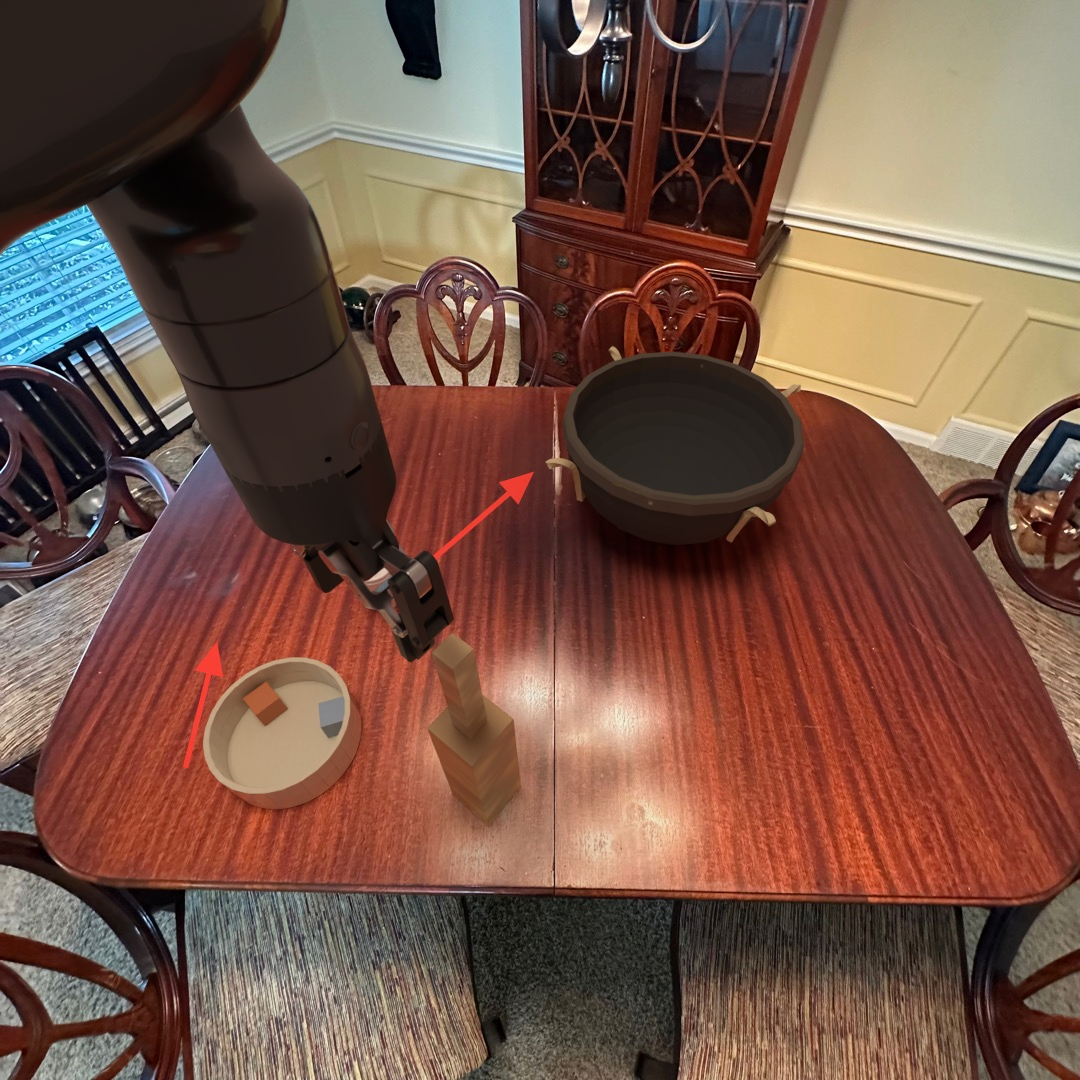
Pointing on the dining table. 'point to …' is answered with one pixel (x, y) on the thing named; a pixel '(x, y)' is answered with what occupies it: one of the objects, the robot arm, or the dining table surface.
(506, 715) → the oak stand
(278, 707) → the terracotta block
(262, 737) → the round beige tray
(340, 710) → the bluegrey block
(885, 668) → the dining table surface
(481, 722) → the wooden square bar
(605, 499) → the bowl
